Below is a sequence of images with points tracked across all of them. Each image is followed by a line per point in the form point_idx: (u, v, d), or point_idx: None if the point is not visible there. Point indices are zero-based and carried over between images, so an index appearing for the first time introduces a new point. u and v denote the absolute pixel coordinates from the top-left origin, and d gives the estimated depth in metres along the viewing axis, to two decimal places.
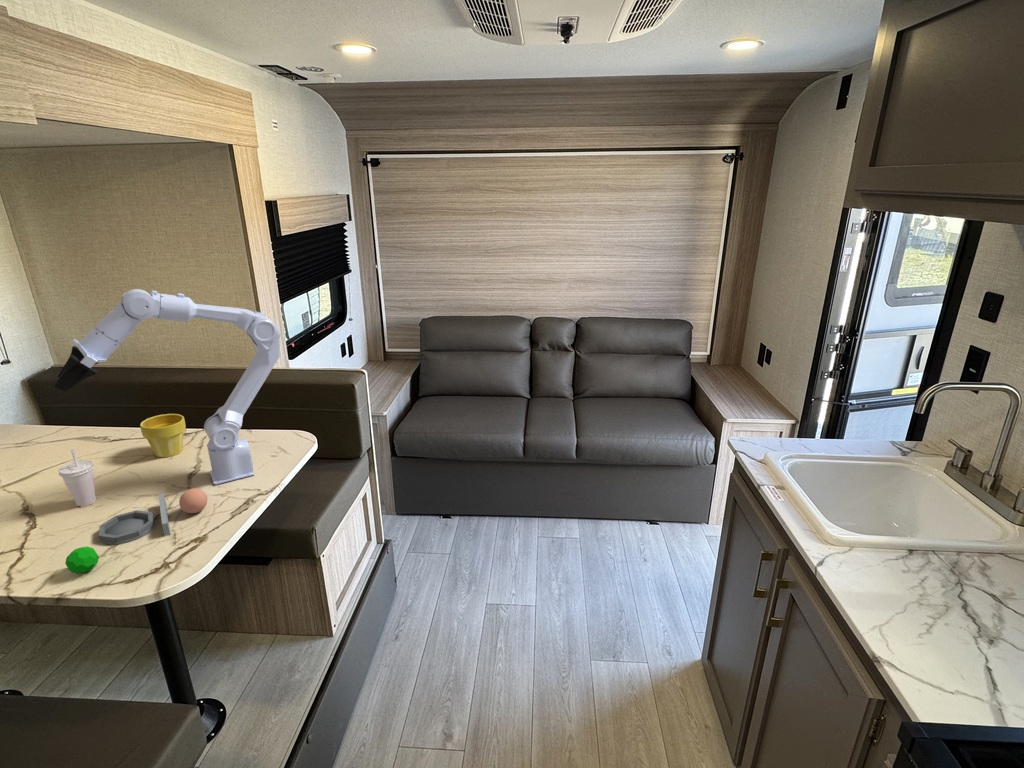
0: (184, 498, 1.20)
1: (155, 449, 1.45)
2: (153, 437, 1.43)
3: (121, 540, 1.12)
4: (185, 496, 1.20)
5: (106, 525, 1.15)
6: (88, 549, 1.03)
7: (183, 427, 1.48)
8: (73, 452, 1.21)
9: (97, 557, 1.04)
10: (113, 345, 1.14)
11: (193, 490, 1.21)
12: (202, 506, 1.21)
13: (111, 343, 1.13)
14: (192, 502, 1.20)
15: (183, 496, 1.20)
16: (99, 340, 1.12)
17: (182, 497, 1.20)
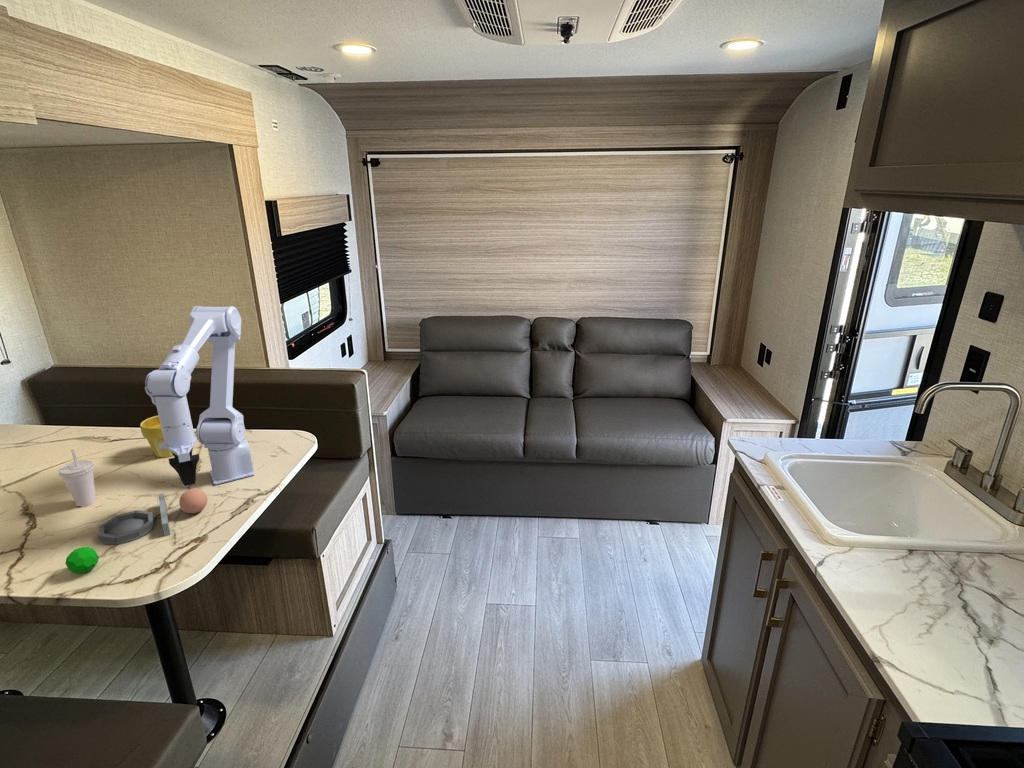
0: (184, 498, 1.20)
1: (155, 449, 1.45)
2: (153, 437, 1.43)
3: (121, 540, 1.12)
4: (185, 496, 1.20)
5: (106, 525, 1.15)
6: (88, 549, 1.03)
7: None
8: (73, 452, 1.21)
9: (97, 557, 1.04)
10: (187, 428, 1.15)
11: (193, 490, 1.21)
12: (202, 506, 1.21)
13: (184, 428, 1.14)
14: (192, 502, 1.20)
15: (183, 496, 1.20)
16: (174, 433, 1.13)
17: (182, 497, 1.20)
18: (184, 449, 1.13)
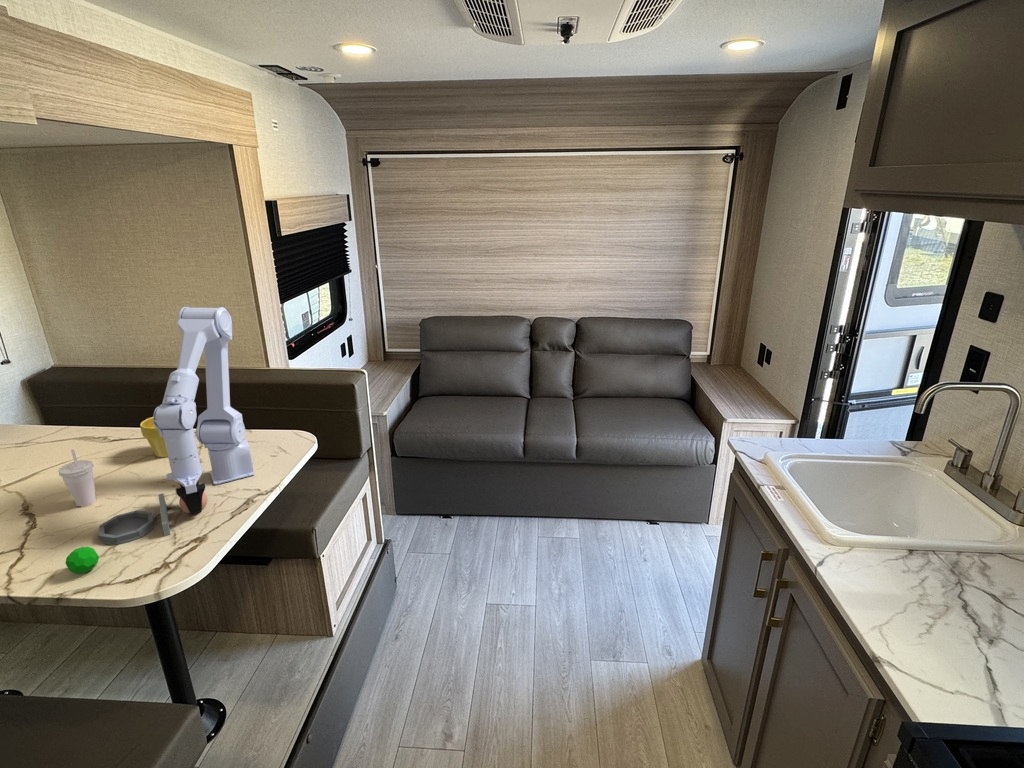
0: None
1: (155, 449, 1.45)
2: (153, 437, 1.43)
3: (121, 540, 1.12)
4: None
5: (106, 525, 1.15)
6: (88, 550, 1.03)
7: None
8: (73, 452, 1.21)
9: (97, 557, 1.04)
10: (194, 459, 1.17)
11: None
12: (202, 506, 1.21)
13: (191, 459, 1.17)
14: None
15: None
16: (181, 465, 1.16)
17: None
18: (191, 480, 1.16)
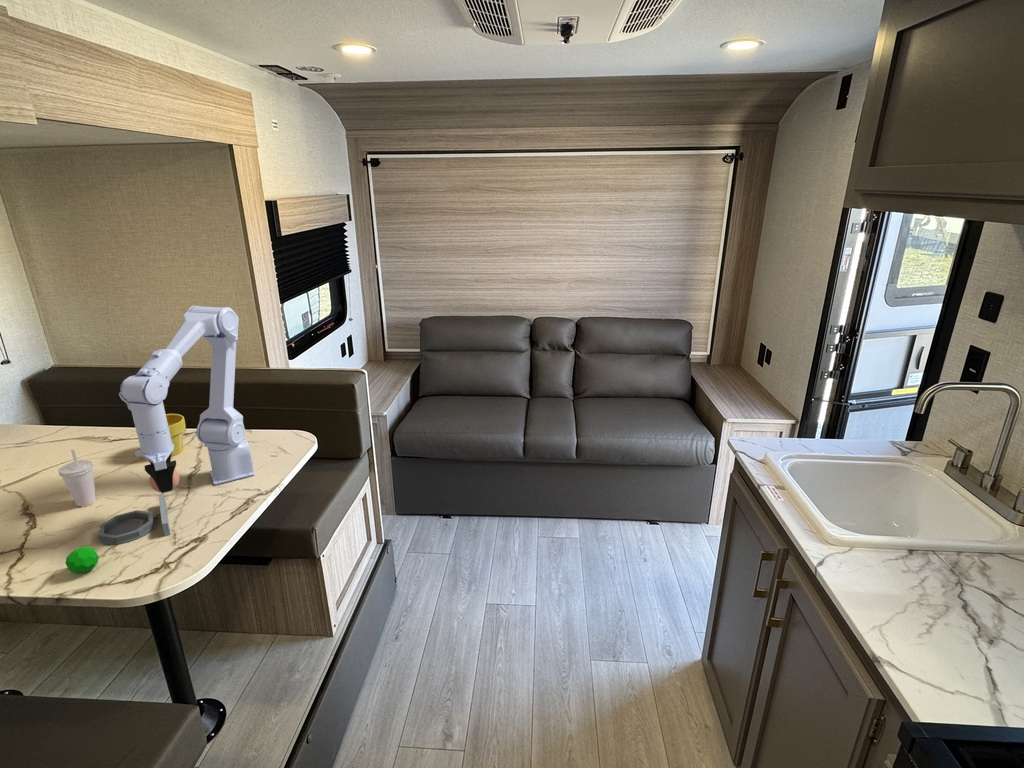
0: None
1: None
2: None
3: (121, 540, 1.12)
4: None
5: (106, 525, 1.15)
6: (88, 549, 1.03)
7: (183, 427, 1.48)
8: (73, 452, 1.21)
9: (97, 557, 1.04)
10: (164, 435, 1.13)
11: None
12: (173, 485, 1.17)
13: (160, 435, 1.12)
14: None
15: None
16: (150, 441, 1.11)
17: None
18: (161, 457, 1.11)
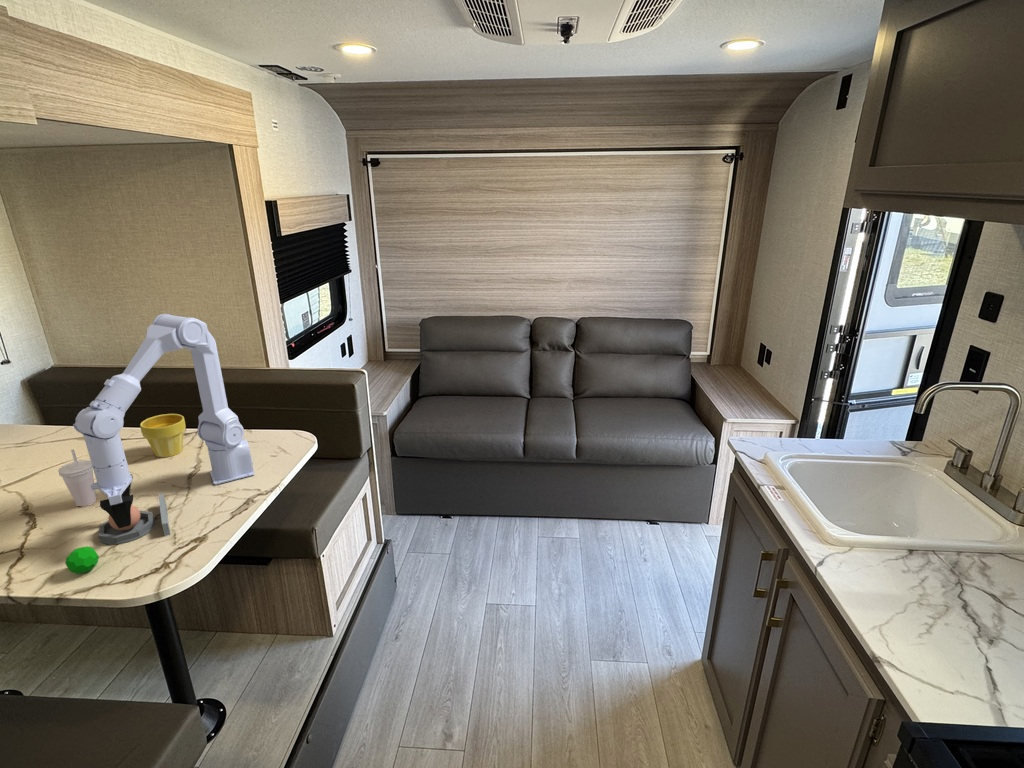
0: None
1: (155, 449, 1.45)
2: (153, 437, 1.43)
3: (121, 540, 1.12)
4: None
5: (106, 525, 1.15)
6: (88, 549, 1.03)
7: (183, 427, 1.48)
8: (73, 452, 1.21)
9: (97, 557, 1.04)
10: (120, 468, 1.10)
11: None
12: (133, 523, 1.14)
13: (117, 468, 1.09)
14: None
15: None
16: (106, 474, 1.08)
17: None
18: (116, 490, 1.08)
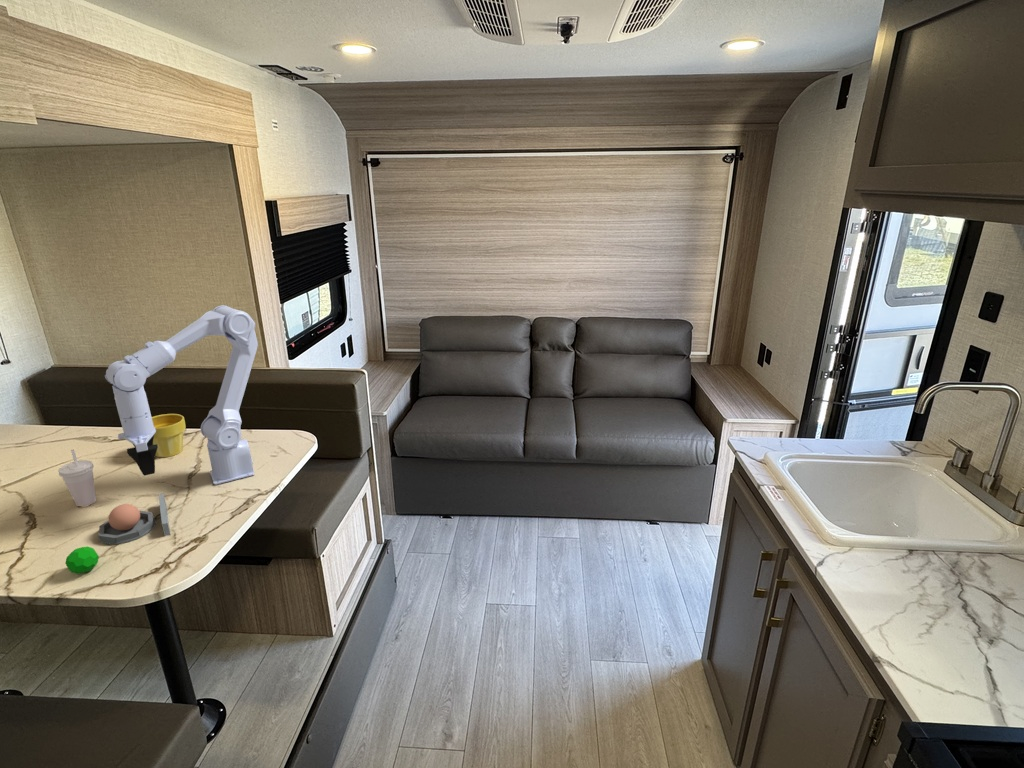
0: (112, 514, 1.13)
1: None
2: None
3: (121, 540, 1.12)
4: (114, 513, 1.13)
5: (106, 525, 1.15)
6: (88, 550, 1.03)
7: (183, 427, 1.48)
8: (73, 452, 1.21)
9: (97, 557, 1.04)
10: (145, 419, 1.18)
11: (123, 506, 1.14)
12: (133, 523, 1.14)
13: (142, 419, 1.17)
14: (121, 519, 1.12)
15: (112, 512, 1.13)
16: (132, 424, 1.17)
17: (111, 513, 1.13)
18: (142, 439, 1.17)
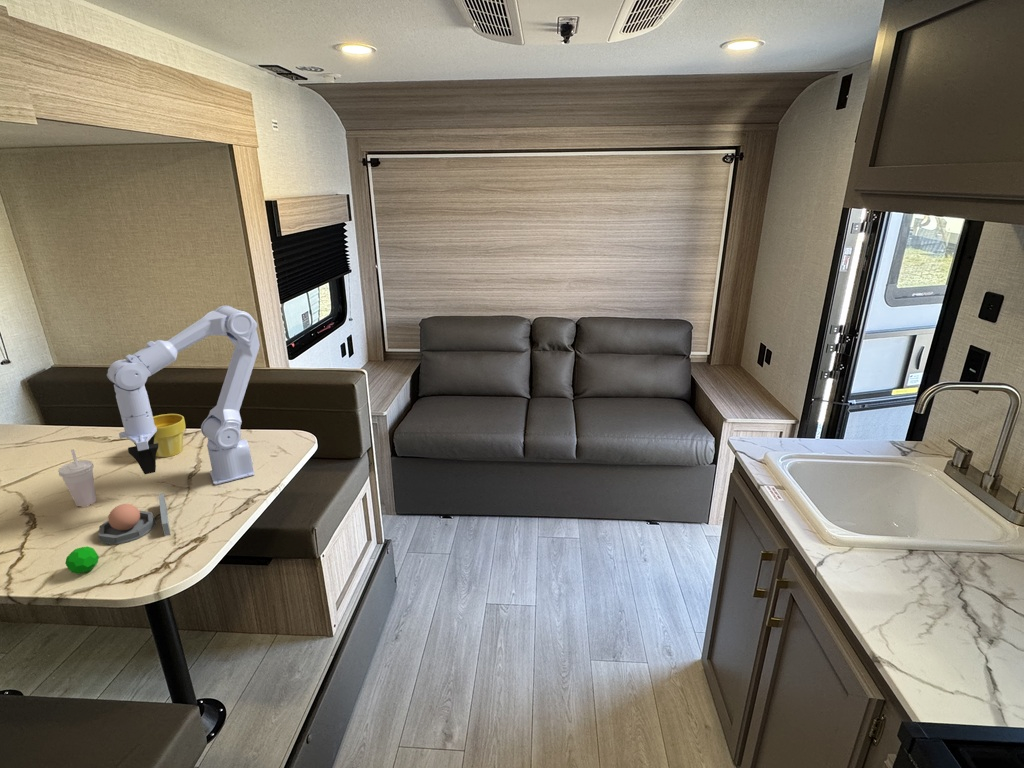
0: (112, 514, 1.13)
1: None
2: None
3: (121, 540, 1.12)
4: (114, 512, 1.13)
5: (106, 525, 1.15)
6: (88, 550, 1.03)
7: (183, 427, 1.48)
8: (73, 452, 1.21)
9: (97, 557, 1.04)
10: (146, 417, 1.19)
11: (123, 506, 1.14)
12: (133, 522, 1.14)
13: (143, 418, 1.18)
14: (121, 519, 1.12)
15: (112, 512, 1.13)
16: (133, 423, 1.17)
17: (111, 513, 1.13)
18: (143, 438, 1.17)
